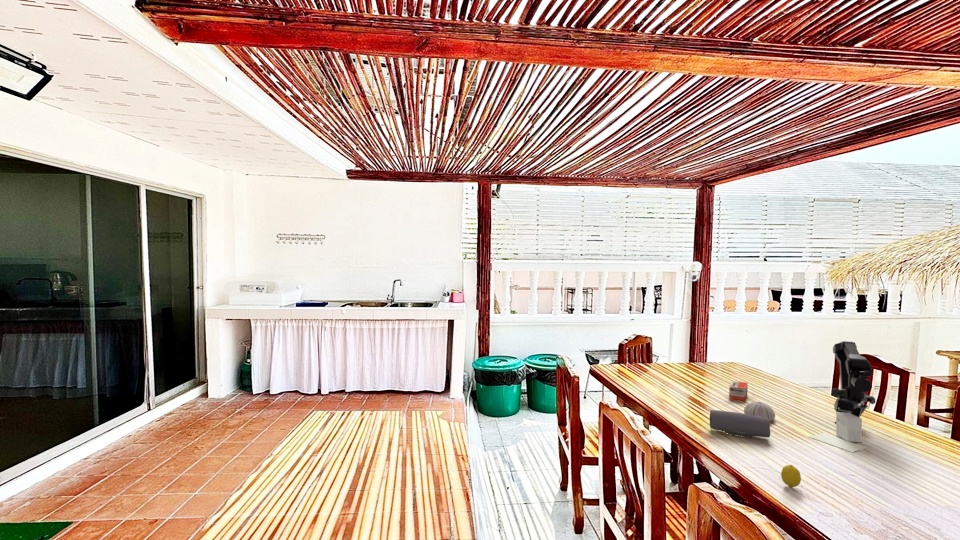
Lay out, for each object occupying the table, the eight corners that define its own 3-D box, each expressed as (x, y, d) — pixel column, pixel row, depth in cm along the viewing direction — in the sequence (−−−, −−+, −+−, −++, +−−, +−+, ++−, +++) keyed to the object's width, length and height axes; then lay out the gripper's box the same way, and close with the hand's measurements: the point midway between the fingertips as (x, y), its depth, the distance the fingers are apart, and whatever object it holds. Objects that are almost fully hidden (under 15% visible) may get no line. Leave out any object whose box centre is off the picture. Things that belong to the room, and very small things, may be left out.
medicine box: (731, 393, 252) (731, 380, 252) (747, 395, 247) (747, 382, 247) (728, 399, 240) (729, 385, 239) (745, 402, 235) (745, 388, 235)
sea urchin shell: (771, 425, 202) (771, 409, 202) (739, 417, 212) (740, 401, 212) (778, 418, 211) (779, 403, 211) (748, 411, 221) (748, 396, 221)
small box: (862, 442, 183) (862, 418, 183) (847, 441, 184) (847, 417, 184) (849, 435, 190) (850, 412, 190) (835, 434, 192) (836, 411, 191)
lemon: (776, 483, 149) (777, 461, 149) (791, 483, 149) (792, 460, 149) (789, 492, 143) (790, 469, 143) (804, 491, 144) (805, 468, 143)
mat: (823, 433, 193) (823, 432, 193) (866, 448, 178) (866, 447, 178) (809, 437, 189) (809, 436, 189) (852, 452, 174) (852, 451, 174)
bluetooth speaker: (766, 435, 190) (766, 413, 190) (770, 443, 181) (771, 421, 181) (709, 426, 200) (709, 406, 199) (710, 434, 191) (711, 412, 191)
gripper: (846, 378, 200) (846, 410, 200) (824, 383, 192) (823, 416, 193) (876, 385, 190) (875, 419, 190) (853, 390, 182) (852, 425, 183)
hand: (855, 419), depth 189 cm, fingers closed
